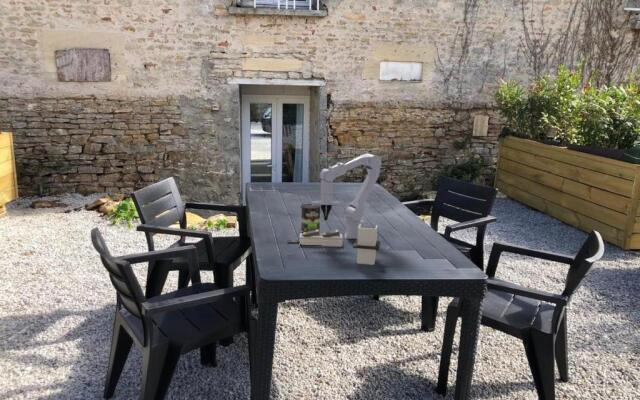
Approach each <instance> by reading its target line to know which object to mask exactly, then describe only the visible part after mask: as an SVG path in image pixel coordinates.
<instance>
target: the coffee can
mask: <svg viewBox="0 0 640 400" xmlns="http://www.w3.org/2000/svg"><path fill="white" fill-rule="evenodd" d="M300 211H301V212H300V232H301V231H303V232H308V231H313V230H317V229H319V231H321V230H320V228H321V206H312V203H305V204H301V205H300Z"/></svg>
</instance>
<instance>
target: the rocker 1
mask: <svg viewBox="0 0 640 400" xmlns="http://www.w3.org/2000/svg"><path fill="white" fill-rule="evenodd" d="M320 234H321V232H319V229H317V230H313V231H308V232H304V233H303V237H311V236H315V235H320Z"/></svg>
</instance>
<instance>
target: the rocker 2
mask: <svg viewBox="0 0 640 400" xmlns="http://www.w3.org/2000/svg"><path fill="white" fill-rule="evenodd" d="M322 234H323V237H332V236H337V235H339V234H340V230H339V229H335V230H330V231H326V232H322Z"/></svg>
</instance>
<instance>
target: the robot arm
mask: <svg viewBox="0 0 640 400" xmlns="http://www.w3.org/2000/svg"><path fill="white" fill-rule="evenodd" d="M382 163H383V162H382V159H381V157H380V156H379V155H377V154H371V153H369V152H367V153H365V154H364V153H363V154H361V155H360V156H357V157H355V158H354V159H352V160H350V161H347V162H346V163H343V162H337V163H336V164H335V165H333V166H329V167H328V168H323V169H322V170H321V171H320V172H319V174H318V177H319V178H320V200H315V201H314V200H313V201H311V204H312V206H320V210H321V212H322V214H323V218H324V219H323V221H328V218H329V214H330V212H331V210H332V207H342V202H341V201H336V200H335V201H334V200H333V188H334V187H333V184H334V183H333V181H335V179H337V178H339V177H340V176H343V175H346V174H347V171H348V170H351V169H353V168H356V167H359V166H363V167H365V169H366V171H367V175H366V177H365V179H364V180H363V183H362V184H361V186H360V188H359V190H358V192H357V194H356V195H355V198H354V200H351V202H349V204H348V205H347V206H346V207H345V208H344V211H343V214H344V215H345V233H344V239H349V240H350V239H352V240H353V239H354V240H356V239H358V227H359V224H361V228H365V221H364V219H363V220H362V218H363V215H364V211H365V208H364V207H365V206H364V205H365V203H366V201H367V199H368V197H369V196H370V193H371V192H372V190H373V187H374V186H375V184H376V182H377V181H378V178H379V176H380V173H381V172H380V171H381V167H382Z"/></svg>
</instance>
